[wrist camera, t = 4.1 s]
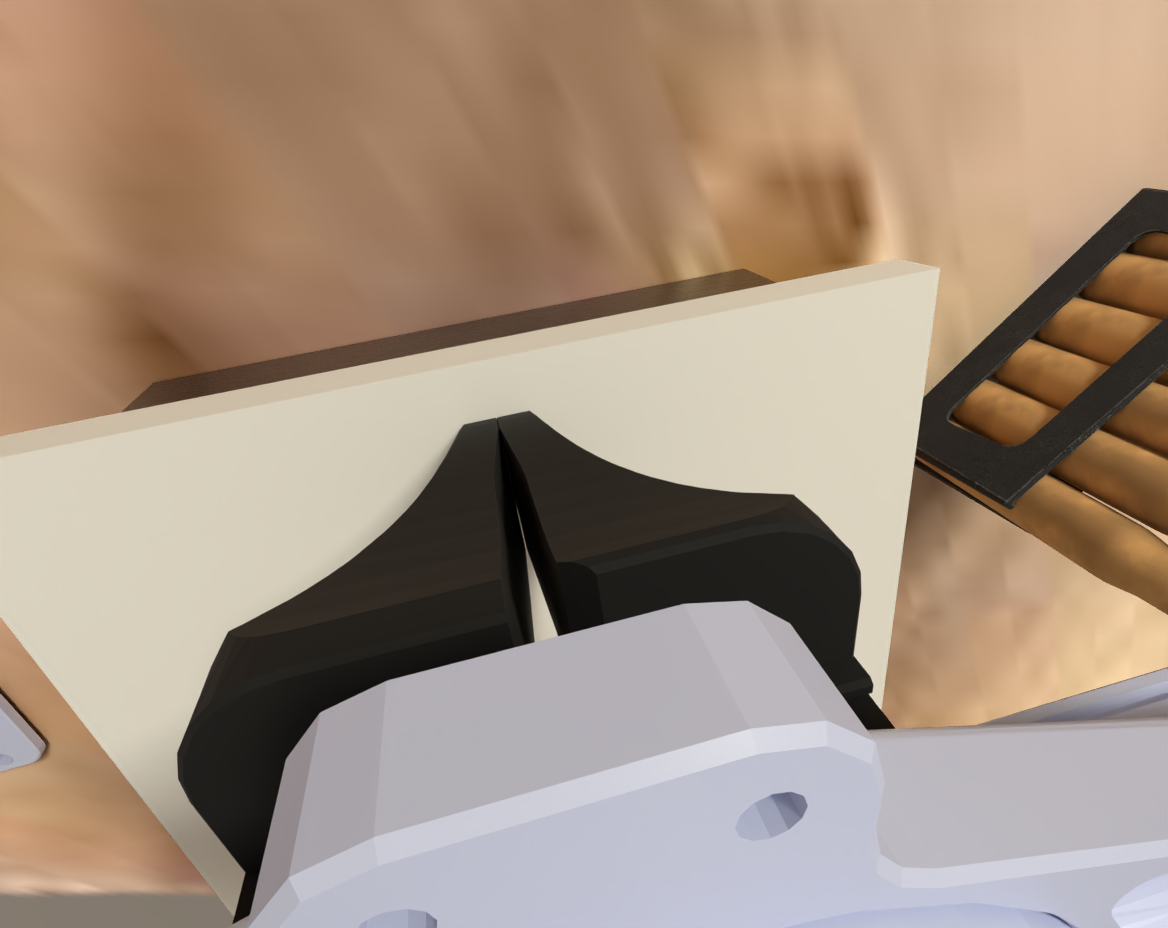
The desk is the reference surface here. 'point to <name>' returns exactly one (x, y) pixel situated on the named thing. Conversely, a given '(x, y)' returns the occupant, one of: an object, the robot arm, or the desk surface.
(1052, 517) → the ammunition clip
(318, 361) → the leveling base
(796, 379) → the plate
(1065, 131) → the desk surface
